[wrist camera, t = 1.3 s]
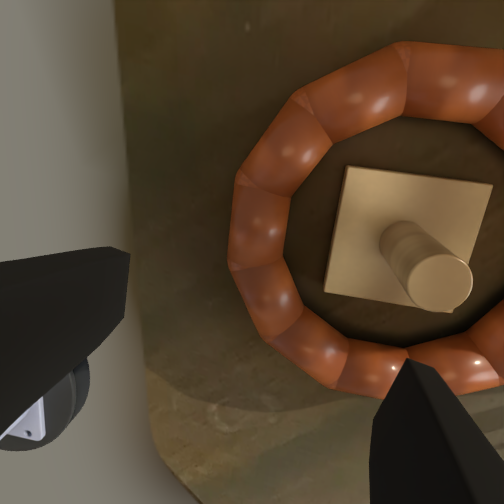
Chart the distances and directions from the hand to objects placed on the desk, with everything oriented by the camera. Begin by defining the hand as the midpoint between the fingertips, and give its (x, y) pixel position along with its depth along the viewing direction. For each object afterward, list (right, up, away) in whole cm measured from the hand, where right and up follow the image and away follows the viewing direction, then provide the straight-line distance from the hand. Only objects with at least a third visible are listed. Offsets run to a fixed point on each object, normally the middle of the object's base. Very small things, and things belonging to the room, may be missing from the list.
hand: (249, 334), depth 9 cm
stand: (+7, +3, +8) cm, 11 cm away
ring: (+7, +2, +7) cm, 10 cm away
